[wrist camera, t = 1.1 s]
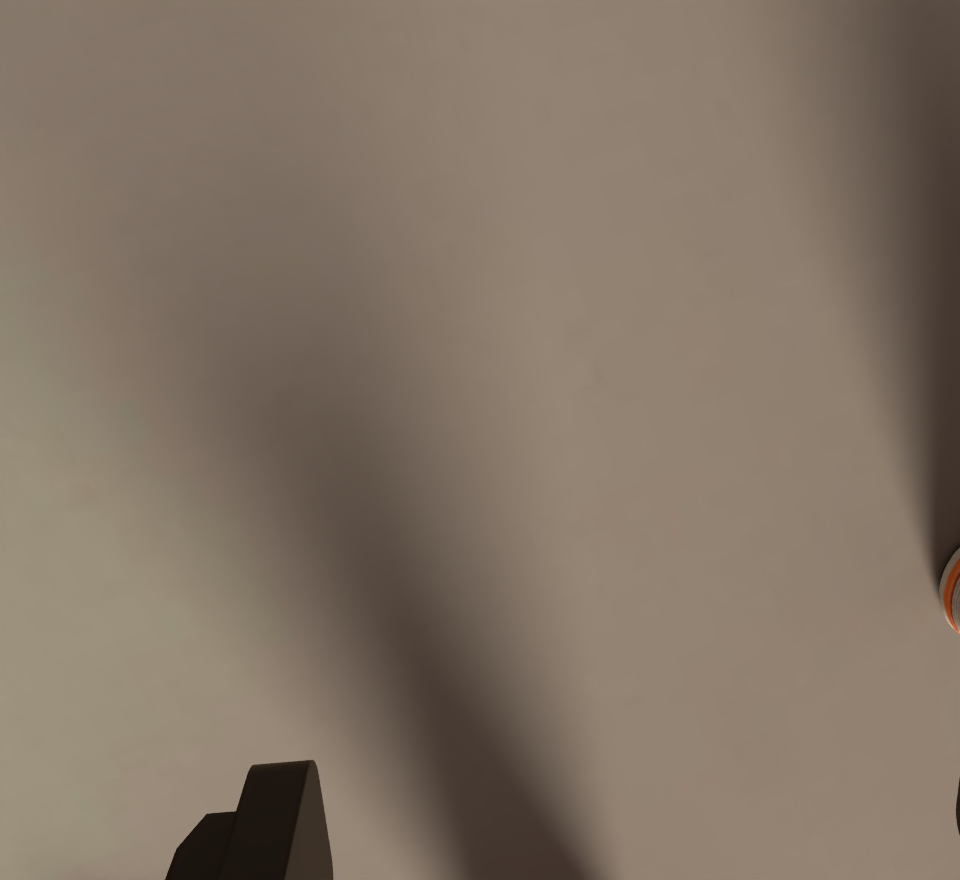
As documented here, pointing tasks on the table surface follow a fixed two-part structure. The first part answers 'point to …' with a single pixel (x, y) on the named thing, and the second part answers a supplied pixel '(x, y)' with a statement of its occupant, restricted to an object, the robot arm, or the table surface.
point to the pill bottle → (951, 591)
